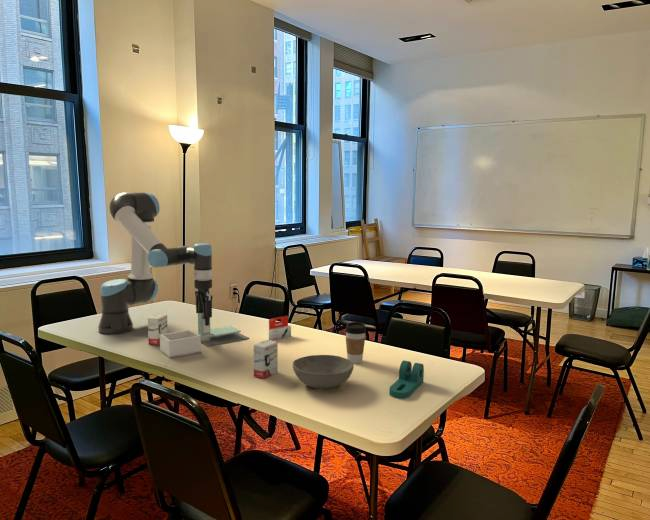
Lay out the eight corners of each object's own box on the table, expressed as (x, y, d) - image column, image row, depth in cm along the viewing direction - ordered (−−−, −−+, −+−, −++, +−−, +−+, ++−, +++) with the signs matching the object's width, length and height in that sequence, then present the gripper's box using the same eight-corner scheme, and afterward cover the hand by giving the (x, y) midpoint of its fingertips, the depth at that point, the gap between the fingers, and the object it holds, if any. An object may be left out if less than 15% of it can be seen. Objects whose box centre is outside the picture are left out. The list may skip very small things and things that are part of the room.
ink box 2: (263, 379, 176) (263, 347, 174) (252, 376, 179) (252, 344, 177) (278, 372, 183) (278, 341, 182) (267, 369, 186) (267, 339, 184)
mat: (193, 337, 224) (192, 336, 224) (233, 330, 236) (233, 329, 236) (207, 346, 212) (207, 345, 212) (249, 338, 224) (249, 337, 224)
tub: (160, 350, 205) (159, 334, 204) (190, 345, 213) (190, 329, 212) (169, 358, 196) (169, 341, 195) (200, 352, 204) (200, 335, 203)
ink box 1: (158, 345, 212) (157, 318, 211) (148, 344, 213) (147, 317, 211) (168, 339, 221) (167, 313, 219) (158, 338, 222) (157, 313, 220)
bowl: (281, 391, 166) (282, 368, 164) (305, 370, 185) (305, 350, 184) (342, 401, 158) (342, 377, 157) (360, 379, 178) (360, 357, 177)
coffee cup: (367, 359, 199) (368, 323, 197) (362, 366, 191) (363, 328, 189) (347, 356, 202) (348, 320, 199) (341, 363, 194) (342, 326, 192)
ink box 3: (291, 336, 228) (291, 316, 227) (271, 341, 221) (271, 320, 219) (288, 335, 230) (288, 315, 229) (268, 340, 223) (268, 319, 221)
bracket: (405, 379, 179) (406, 358, 178) (423, 382, 176) (424, 361, 175) (386, 396, 163) (386, 373, 162) (405, 400, 160) (406, 377, 159)
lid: (195, 333, 222) (194, 311, 220) (230, 327, 232) (230, 306, 231) (204, 339, 213) (204, 316, 212) (240, 333, 224) (240, 311, 222)
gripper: (187, 276, 220) (188, 328, 223) (203, 282, 206) (204, 337, 210) (203, 275, 224) (204, 325, 227) (219, 281, 211) (220, 334, 214)
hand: (204, 331), depth 219 cm, fingers closed on lid, 4 cm apart
